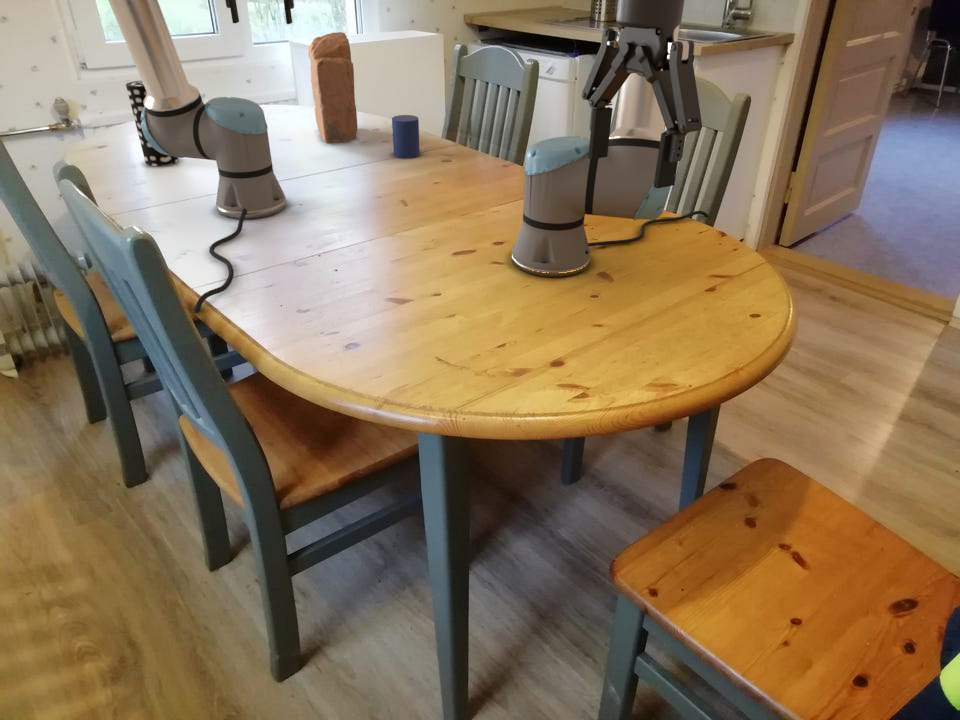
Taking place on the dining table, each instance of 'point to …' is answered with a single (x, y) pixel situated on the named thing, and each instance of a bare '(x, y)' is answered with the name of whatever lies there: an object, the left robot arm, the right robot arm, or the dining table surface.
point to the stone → (333, 87)
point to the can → (406, 136)
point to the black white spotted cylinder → (136, 100)
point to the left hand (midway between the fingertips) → (262, 23)
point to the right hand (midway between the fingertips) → (628, 171)
